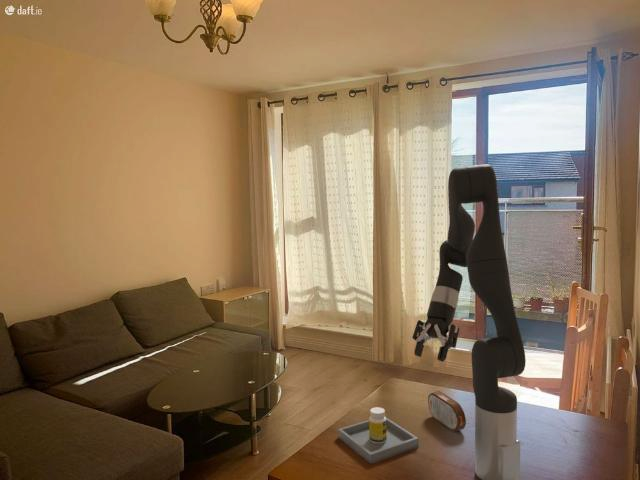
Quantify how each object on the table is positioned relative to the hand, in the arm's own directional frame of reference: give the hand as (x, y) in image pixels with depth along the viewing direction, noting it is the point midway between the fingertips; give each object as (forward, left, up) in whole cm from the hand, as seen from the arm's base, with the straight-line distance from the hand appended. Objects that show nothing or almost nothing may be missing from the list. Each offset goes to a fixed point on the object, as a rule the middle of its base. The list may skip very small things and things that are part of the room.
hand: (428, 358), depth 134 cm
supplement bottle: (+2, +17, -20) cm, 27 cm away
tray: (+2, +17, -21) cm, 27 cm away
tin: (0, -6, -21) cm, 22 cm away
